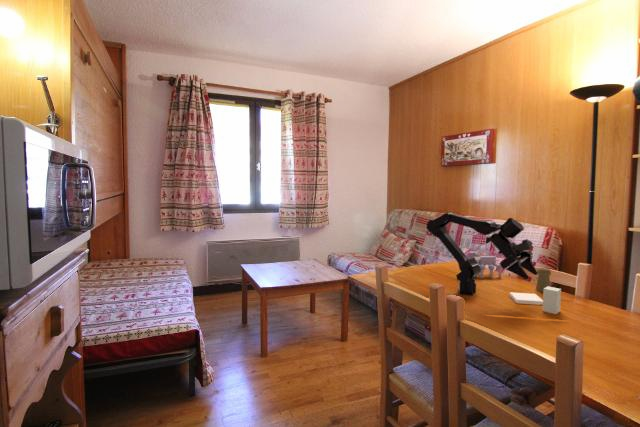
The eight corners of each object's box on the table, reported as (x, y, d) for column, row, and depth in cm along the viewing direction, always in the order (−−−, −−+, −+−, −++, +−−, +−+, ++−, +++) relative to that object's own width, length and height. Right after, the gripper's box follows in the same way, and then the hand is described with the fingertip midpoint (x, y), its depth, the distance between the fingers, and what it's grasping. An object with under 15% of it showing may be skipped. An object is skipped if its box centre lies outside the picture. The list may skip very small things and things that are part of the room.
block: (542, 312, 134) (543, 288, 133) (546, 310, 136) (547, 286, 136) (556, 316, 130) (557, 291, 129) (559, 313, 133) (561, 288, 132)
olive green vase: (553, 294, 155) (554, 270, 154) (538, 293, 156) (539, 269, 156) (547, 290, 161) (548, 267, 160) (533, 289, 162) (534, 266, 161)
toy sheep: (466, 279, 181) (466, 253, 181) (457, 275, 192) (457, 250, 191) (504, 278, 182) (504, 252, 181) (493, 274, 192) (493, 249, 192)
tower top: (516, 303, 142) (516, 299, 142) (509, 295, 152) (509, 292, 152) (544, 305, 140) (544, 301, 140) (535, 297, 150) (535, 293, 150)
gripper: (509, 235, 134) (540, 268, 127) (528, 231, 146) (557, 261, 139) (488, 252, 141) (516, 285, 133) (507, 247, 153) (534, 276, 145)
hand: (532, 276), depth 138 cm, fingers open, 9 cm apart
